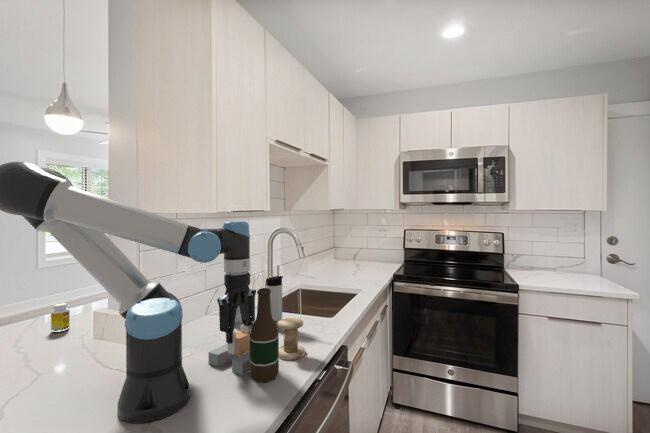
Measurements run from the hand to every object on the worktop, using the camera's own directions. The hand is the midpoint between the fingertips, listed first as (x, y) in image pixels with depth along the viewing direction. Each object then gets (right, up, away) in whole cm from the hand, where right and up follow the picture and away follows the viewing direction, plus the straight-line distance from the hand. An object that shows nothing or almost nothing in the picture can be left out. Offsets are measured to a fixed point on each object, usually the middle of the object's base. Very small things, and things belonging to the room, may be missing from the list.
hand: (238, 349), depth 98 cm
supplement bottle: (-76, -4, +27) cm, 81 cm away
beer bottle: (+9, -4, -8) cm, 13 cm away
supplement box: (-12, -4, +39) cm, 41 cm away
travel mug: (+6, -4, +31) cm, 32 cm away
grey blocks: (0, -4, 0) cm, 4 cm away
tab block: (0, 0, 0) cm, 1 cm away
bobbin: (+15, -4, +6) cm, 17 cm away
